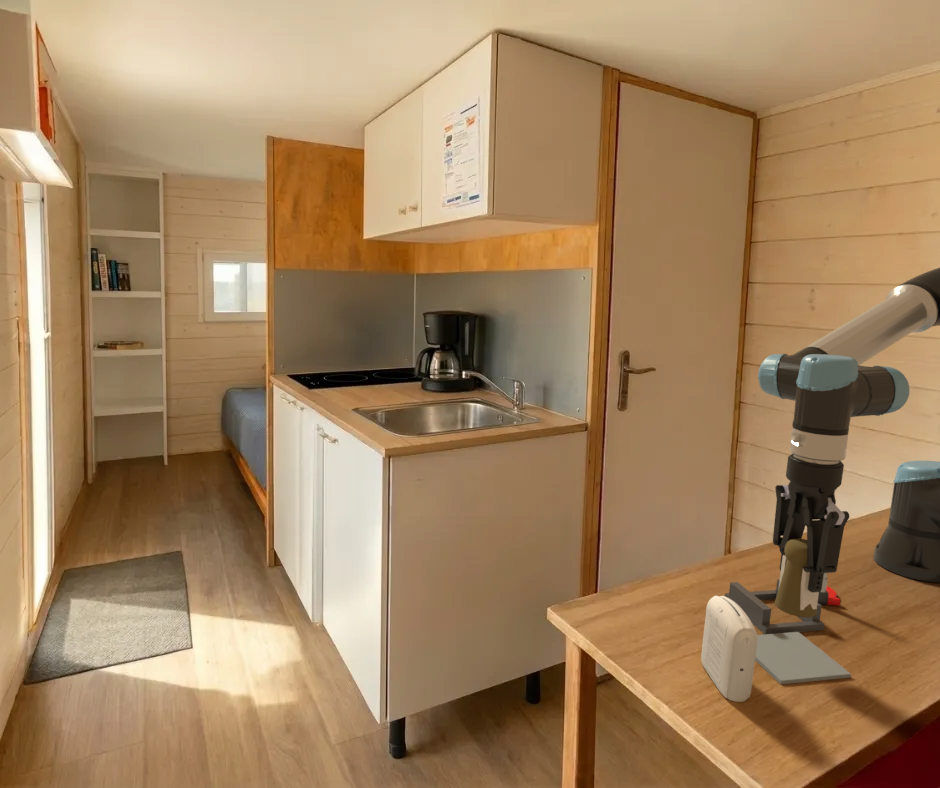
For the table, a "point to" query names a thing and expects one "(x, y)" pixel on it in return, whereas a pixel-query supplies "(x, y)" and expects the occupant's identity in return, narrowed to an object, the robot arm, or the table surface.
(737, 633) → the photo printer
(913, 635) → the table surface
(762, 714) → the table surface
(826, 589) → the tow hook
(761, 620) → the grey square frame
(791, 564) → the cork
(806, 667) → the mat
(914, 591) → the table surface
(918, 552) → the robot arm
